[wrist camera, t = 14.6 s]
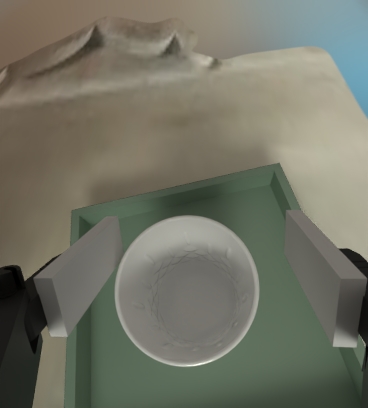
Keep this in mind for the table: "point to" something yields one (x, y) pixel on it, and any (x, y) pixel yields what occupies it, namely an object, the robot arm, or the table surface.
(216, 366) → the green box
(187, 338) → the white cup
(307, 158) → the table surface
